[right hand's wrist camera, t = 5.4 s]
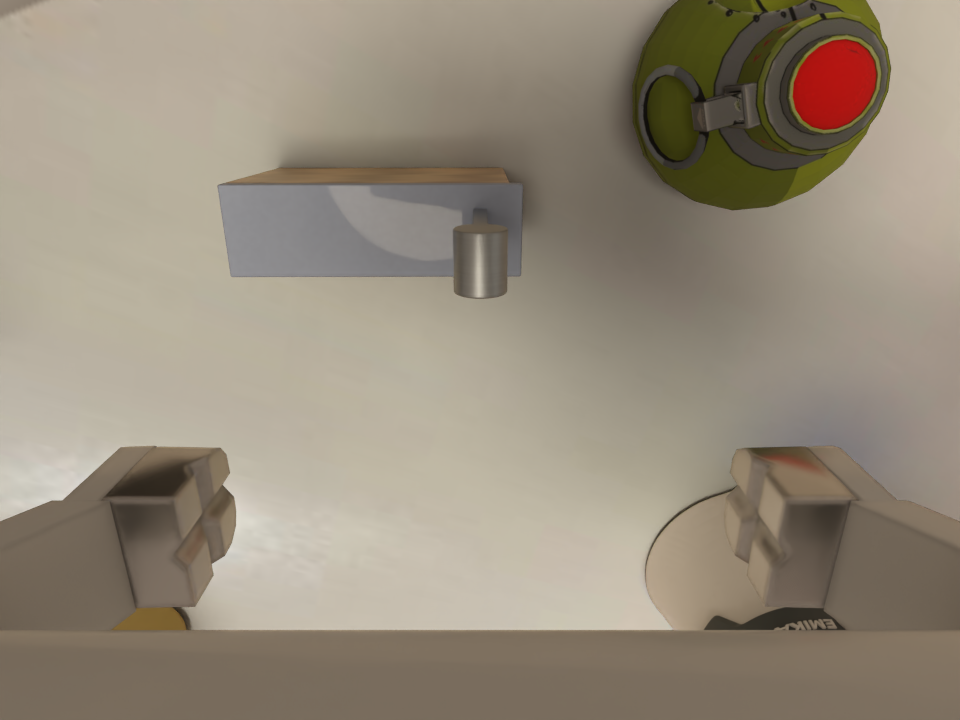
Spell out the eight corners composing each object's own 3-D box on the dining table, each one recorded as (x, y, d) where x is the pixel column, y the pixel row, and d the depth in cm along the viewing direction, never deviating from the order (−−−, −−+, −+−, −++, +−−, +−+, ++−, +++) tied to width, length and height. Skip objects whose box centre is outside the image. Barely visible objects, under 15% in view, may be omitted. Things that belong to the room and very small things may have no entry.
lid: (522, 182, 32) (536, 205, 24) (520, 272, 33) (533, 323, 25) (223, 182, 32) (137, 206, 24) (236, 273, 33) (160, 323, 25)
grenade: (802, -44, 36) (1008, -144, 22) (815, 168, 40) (995, 199, 26) (591, 16, 37) (659, -42, 23) (625, 217, 41) (701, 271, 27)
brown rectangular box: (503, 167, 40) (509, 182, 32) (502, 240, 42) (508, 272, 33) (277, 167, 40) (223, 182, 32) (285, 240, 42) (236, 273, 33)
